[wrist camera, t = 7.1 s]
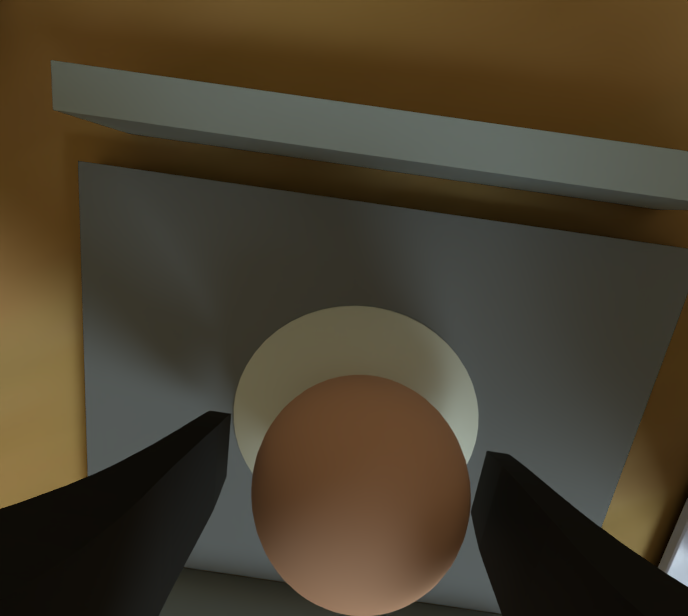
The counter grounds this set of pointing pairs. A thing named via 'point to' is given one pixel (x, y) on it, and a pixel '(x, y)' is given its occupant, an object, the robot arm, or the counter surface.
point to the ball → (361, 495)
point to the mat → (363, 335)
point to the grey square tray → (370, 152)
